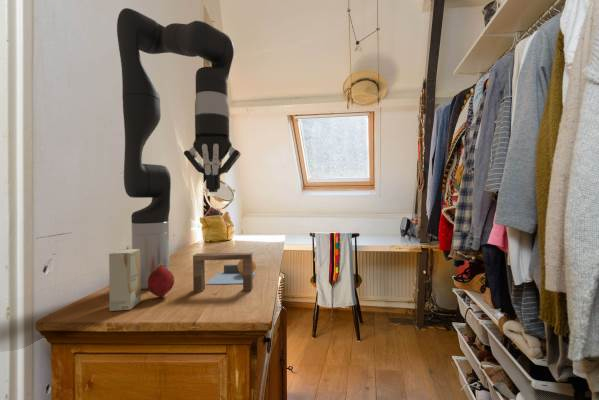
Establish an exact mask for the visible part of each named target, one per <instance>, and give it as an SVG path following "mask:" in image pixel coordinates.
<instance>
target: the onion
mask: <svg viewBox="0 0 599 400" xmlns="http://www.w3.org/2000/svg"><path fill="white" fill-rule="evenodd" d="M147 285H148V288H147V289H148V291H149V292H150V293H151V294H152V295H154V296H156V297H158V298H164V297H165V295H166V294H168V293H169V292H170V290H172V288H173V287H174V285H175V277H174V274H173V273H172V272H171V271H170V269H169V270H168V269H166V268H164V264H160V265H159V266H158V267H157V268H156V269H155V270H154V271H153V272H152V273H151V274H150V276H149V278H148V281H147Z"/></svg>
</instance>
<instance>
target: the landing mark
mask: <svg viewBox="0 0 599 400" xmlns="http://www.w3.org/2000/svg"><path fill="white" fill-rule="evenodd" d="M255 276H256V272H255V271H254V272H253V278H255ZM207 285H209V286H210V285H243V275H242V274H241V273H224V272H217V273H216V274H215V275H214V276H212V277H211V279H209V281H207V282H206V283H205V286H207Z"/></svg>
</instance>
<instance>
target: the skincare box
mask: <svg viewBox="0 0 599 400" xmlns="http://www.w3.org/2000/svg"><path fill="white" fill-rule="evenodd" d="M108 273H109V274H108V275H109V276H108V279H109V280H108V282H109V284H108V285H109V287H108V288H109V290H108V291H109V297H108V298H109V302H108V303H109V311H110V312H113V311H128V310H132V309H133V308H134V307H135V306H137V305H138V304H140V302H142V294H141V292H142V291H141V290H142V289H141V277H140V249H132V248H129V249H126V248H125V249H120V250H115V251H113V252H111V253H108Z"/></svg>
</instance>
